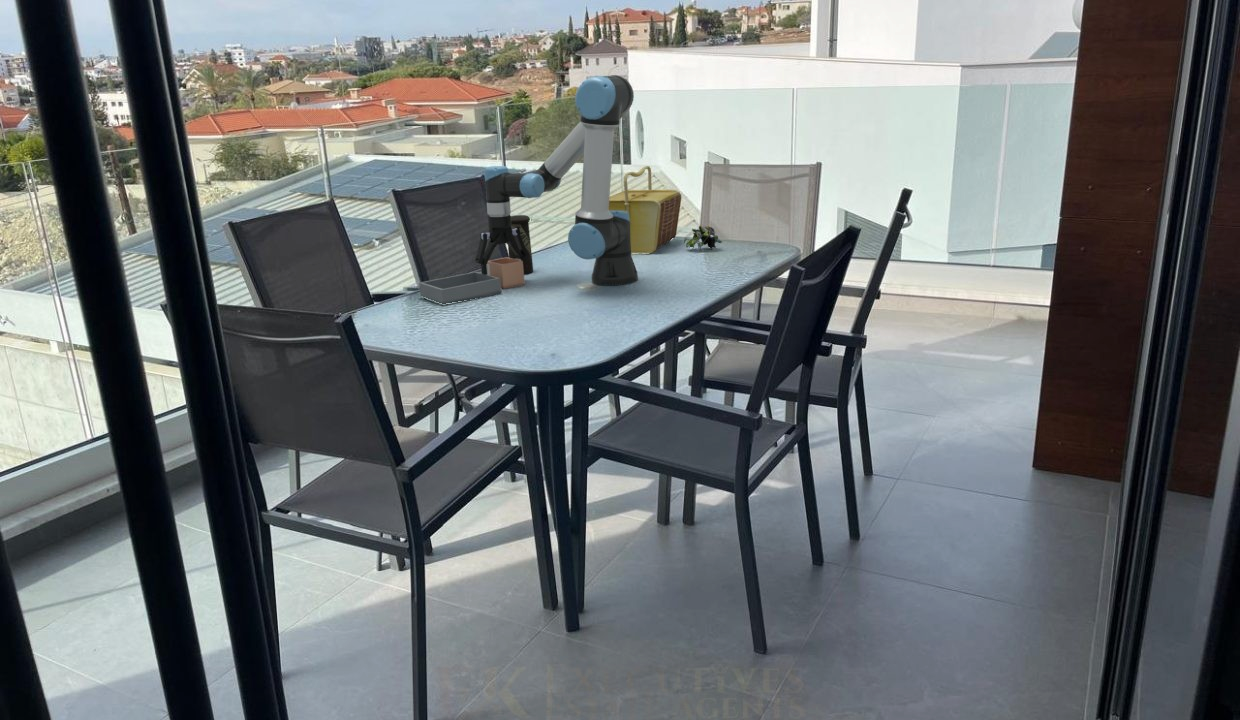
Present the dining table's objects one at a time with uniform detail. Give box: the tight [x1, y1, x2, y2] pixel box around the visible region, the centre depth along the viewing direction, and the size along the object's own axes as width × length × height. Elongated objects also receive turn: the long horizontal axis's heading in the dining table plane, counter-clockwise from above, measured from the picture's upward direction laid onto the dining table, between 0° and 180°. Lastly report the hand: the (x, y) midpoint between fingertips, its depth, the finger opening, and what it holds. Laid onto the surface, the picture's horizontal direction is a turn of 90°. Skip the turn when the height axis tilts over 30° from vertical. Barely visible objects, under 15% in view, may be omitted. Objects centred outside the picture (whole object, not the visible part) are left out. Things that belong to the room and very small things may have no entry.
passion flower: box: [683, 225, 723, 252], centre depth 339 cm, size 11×11×12 cm
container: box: [507, 214, 534, 275], centre depth 317 cm, size 9×9×20 cm
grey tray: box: [418, 271, 503, 304], centre depth 290 cm, size 16×21×5 cm
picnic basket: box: [609, 165, 682, 254], centre depth 348 cm, size 29×26×30 cm
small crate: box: [487, 256, 526, 290], centre depth 301 cm, size 10×8×8 cm
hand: (503, 281), depth 302 cm, fingers open, 11 cm apart
